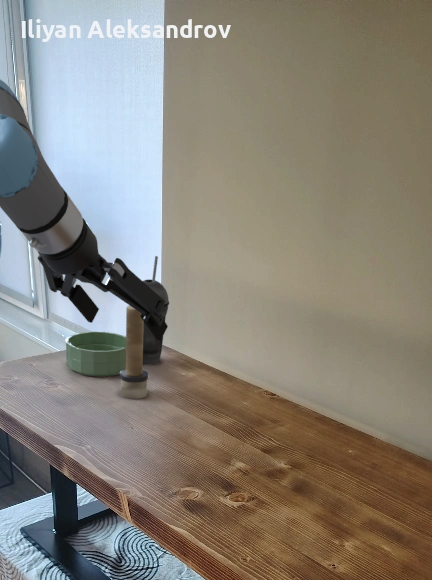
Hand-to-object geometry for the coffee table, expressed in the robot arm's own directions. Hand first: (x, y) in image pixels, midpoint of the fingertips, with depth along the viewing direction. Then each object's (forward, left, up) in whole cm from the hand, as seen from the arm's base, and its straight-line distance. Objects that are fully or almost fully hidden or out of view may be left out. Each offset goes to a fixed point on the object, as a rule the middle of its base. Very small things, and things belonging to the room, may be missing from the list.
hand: (127, 324), depth 101 cm
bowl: (-9, +12, -13) cm, 20 cm away
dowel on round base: (+1, +2, -13) cm, 13 cm away
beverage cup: (-2, +19, -13) cm, 23 cm away
